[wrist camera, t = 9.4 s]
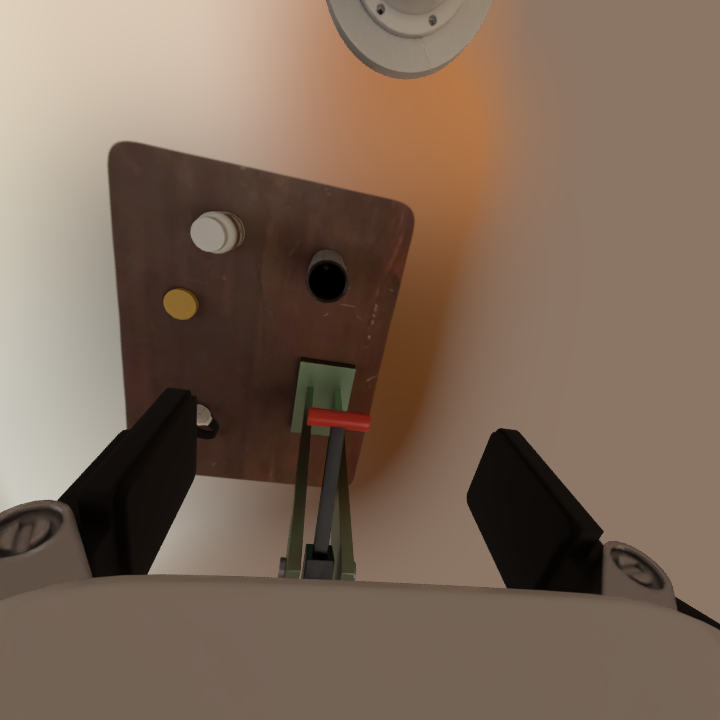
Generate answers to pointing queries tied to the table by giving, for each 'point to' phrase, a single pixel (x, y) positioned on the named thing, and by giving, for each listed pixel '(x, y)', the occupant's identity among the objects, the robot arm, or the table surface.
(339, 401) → the hand press
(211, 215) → the pill bottle
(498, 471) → the robot arm
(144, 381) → the table surface
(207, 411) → the watch
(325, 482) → the lever
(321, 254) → the planter
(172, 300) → the brass blank
